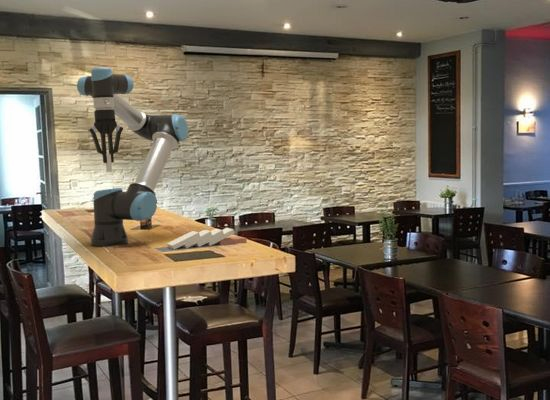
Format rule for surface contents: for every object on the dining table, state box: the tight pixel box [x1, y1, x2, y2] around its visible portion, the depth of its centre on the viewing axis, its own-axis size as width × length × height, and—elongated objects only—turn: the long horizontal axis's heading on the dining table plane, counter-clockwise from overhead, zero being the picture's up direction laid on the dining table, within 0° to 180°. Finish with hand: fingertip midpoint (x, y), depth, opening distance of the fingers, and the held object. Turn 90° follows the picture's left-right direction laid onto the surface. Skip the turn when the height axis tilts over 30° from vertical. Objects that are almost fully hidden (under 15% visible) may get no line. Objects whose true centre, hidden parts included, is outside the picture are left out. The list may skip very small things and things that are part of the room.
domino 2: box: [181, 229, 212, 248], centre depth 246 cm, size 2×6×12 cm
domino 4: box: [205, 227, 235, 246], centre depth 251 cm, size 2×6×12 cm
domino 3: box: [194, 228, 224, 247], centre depth 249 cm, size 2×6×12 cm
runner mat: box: [153, 243, 237, 253], centre depth 246 cm, size 10×32×1 cm, turn 121°
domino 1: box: [166, 230, 200, 250], centre depth 244 cm, size 2×6×12 cm
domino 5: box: [215, 236, 247, 246], centre depth 254 cm, size 2×6×12 cm
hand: (109, 171), depth 235 cm, fingers closed
